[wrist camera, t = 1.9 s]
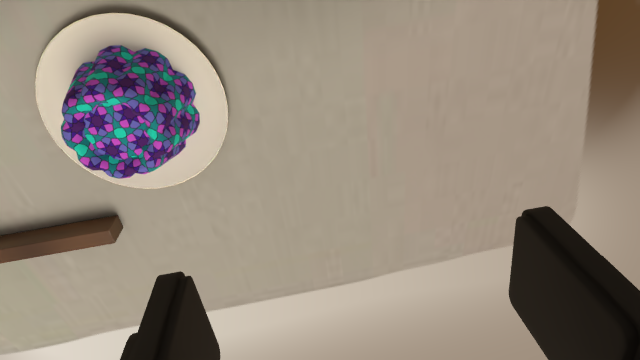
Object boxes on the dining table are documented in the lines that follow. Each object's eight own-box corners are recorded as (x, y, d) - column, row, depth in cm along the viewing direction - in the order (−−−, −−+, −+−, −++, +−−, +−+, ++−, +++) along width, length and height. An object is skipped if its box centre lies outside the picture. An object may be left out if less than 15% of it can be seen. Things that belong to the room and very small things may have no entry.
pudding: (193, -10, 25) (176, 0, 21) (250, 163, 31) (246, 200, 27) (1, 36, 26) (-57, 56, 21) (94, 199, 32) (63, 242, 27)
